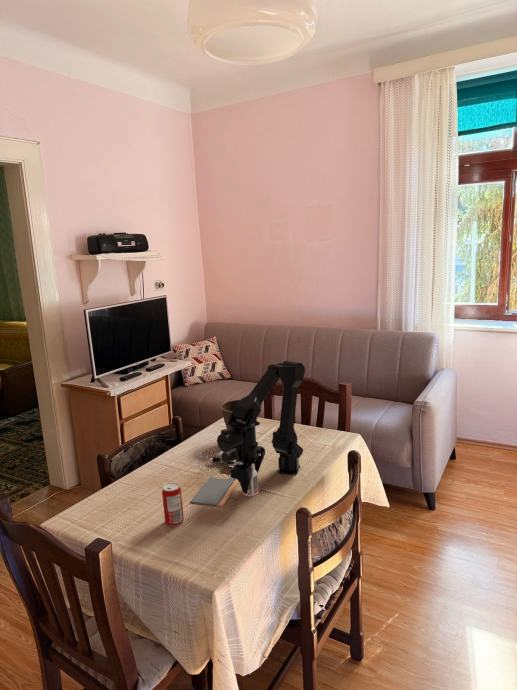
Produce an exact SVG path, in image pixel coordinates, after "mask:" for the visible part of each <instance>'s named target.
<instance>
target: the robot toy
mask: <svg viewBox="0 0 517 690" xmlns="http://www.w3.org/2000/svg"><path fill="white" fill-rule="evenodd" d="M222 453H223V451H221V450H220V451H218V452H217V453H216V456H213V457H211V458H209V459H208V462H212V463H214V464H215V463H217V464H218V463H221V462H222V463H221V464H225V466H226V467H227V466H235V465H236V464H240V465H243V463H241V462H236V460H233V461H230V462H228V463H225V462H223V461H222V460H221V458H222V457H221V455H222Z"/></svg>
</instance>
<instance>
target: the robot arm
mask: <svg viewBox="0 0 517 690" xmlns="http://www.w3.org/2000/svg"><path fill="white" fill-rule="evenodd" d="M305 367H306V366H305V365H304V364H303V362H298V361H293V360H287V359H286V360H284V361H283V362H277V363H270V364H268V367H267V370H266V371H265V372H264V374H263V376H262V377H260V379H259V381H258V382H257V383H256V384H255V386H254V387H253V388H252V390H251V391H250V393H248V394H247V395H246V396H243V397H242V398H241V399H239V400H240V401H239V402H238V403H237V404H236V405H235V406H234V408H233V411H232V414H231V416H230V419H229V421H228V424H227V425H228V426H231V427H229V428H223V429H221V430H220V433H219V434H218V436H217V438H216V443H217V446H218V449H219V450H220V451H223V453H222V455H221V457H222V458H221V460H222V461H223V462H225V463H224V464H226V463H228V462H230V461H233V460H236V462H241V463H243V465H240V464H236V465H235V466H234V467H233V468H230V471H229V474H230V477H231V478H234V479H235V480H236V479H237V480H238V481H239V483H238V484H239V485H240V487H241V491H242V490H243V492H244V493H247V492H248V488H249V485H250V482H251V479H252V475H253V474H252V468H251V465H252V464H254V465H255V470H256V471H257V475H258V474H259V471H260V468H261V466H262V463H263V461H264V458H265V455H266V449H265V447H263V446H262V445H260V446H259V441H257V438H256V437H257V436H256V435H257V433H256V427H257V426H260V425H261V422H259V421H258V420H256V419H258V417H259V415H260V413H261V411H262V404H263V403H264V401H265V399H266V398H267V396H268V395H269V394H270V393H271V391H272V390H273V388H274V387H275V386H276V384H277V383H278V381H279V380H280V381H281V383H282V385H283V388H282V397H281V398H282V399H281V408H280V410H281V411H280V420H279V426H278V427H277V429H276V431H273V432H272V439H271V443H272V448H273V449H274V451H275V453H276V454H279V457H278V469H279V470H278V473H279V474H287V475H298V473H299V470H300V468H301V465H300V460H299V459H300V458H301V456H302V455H303V453H304V448H303V447H302V446H301V445H300V444H298V435H297V432H296V430H295V419H296V410H297V408H296V407H297V399H298V389H299V387H300V385H301V384H302V382H303V381H304V378H305V377H304V376H305V373H306V372H305V371H306V368H305ZM236 420H240V421H243V422H244V423H240V422H237V421H236Z"/></svg>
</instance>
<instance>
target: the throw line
mask: <svg viewBox="0 0 517 690" xmlns="http://www.w3.org/2000/svg"><path fill="white" fill-rule="evenodd" d="M239 484H240V483H239V481H238V480H237V479H235V480H234V482H233V483H232V485H231V486H230V487H229V489H228V490H227V492H226V493H225V494H224V496H223V497H222V499H221V500H220V502H219V503H218V507H222V508H223V507H224V506H225V503H226V502H227V501H228V499H229V498H230V497H231V495H232V494H233V492H234V491H235V489H236V488H237V487H238V485H239Z"/></svg>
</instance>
